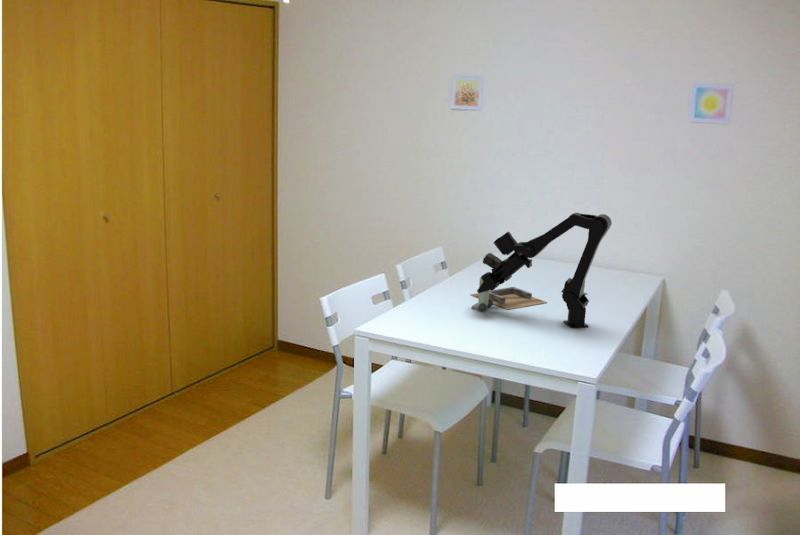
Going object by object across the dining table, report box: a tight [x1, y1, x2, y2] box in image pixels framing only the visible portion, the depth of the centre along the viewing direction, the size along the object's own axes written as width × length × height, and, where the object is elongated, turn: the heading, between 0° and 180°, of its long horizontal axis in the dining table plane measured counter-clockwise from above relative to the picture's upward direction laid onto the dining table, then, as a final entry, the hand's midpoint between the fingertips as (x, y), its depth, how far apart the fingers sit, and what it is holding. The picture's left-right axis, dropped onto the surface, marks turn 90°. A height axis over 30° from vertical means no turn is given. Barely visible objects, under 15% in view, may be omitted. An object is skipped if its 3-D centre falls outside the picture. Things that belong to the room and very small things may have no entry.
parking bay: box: [470, 286, 548, 311], centre depth 265 cm, size 22×20×3 cm
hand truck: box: [471, 274, 494, 313], centre depth 251 cm, size 6×7×13 cm
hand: (480, 290), depth 251 cm, fingers closed on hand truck, 5 cm apart
